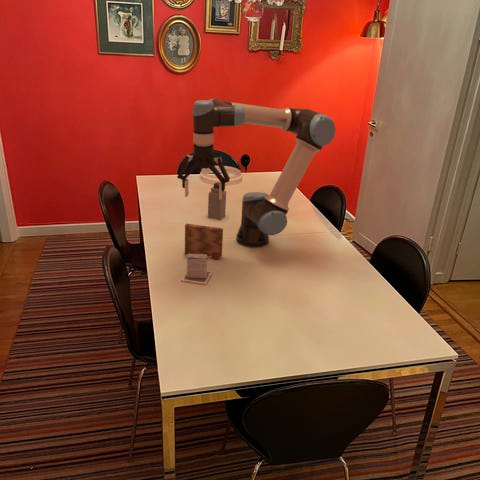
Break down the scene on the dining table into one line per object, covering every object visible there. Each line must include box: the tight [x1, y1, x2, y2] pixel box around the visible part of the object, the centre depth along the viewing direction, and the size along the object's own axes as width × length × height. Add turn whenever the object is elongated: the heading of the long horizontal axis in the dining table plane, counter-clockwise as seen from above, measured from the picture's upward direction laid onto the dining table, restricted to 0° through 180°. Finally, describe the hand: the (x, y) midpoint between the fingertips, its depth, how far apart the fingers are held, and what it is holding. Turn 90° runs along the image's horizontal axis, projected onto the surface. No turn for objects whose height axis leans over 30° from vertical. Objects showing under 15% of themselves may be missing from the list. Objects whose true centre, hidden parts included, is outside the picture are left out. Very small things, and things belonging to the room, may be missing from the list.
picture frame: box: [180, 270, 213, 286], centre depth 184 cm, size 10×10×1 cm
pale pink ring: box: [199, 165, 243, 187], centre depth 301 cm, size 27×27×6 cm
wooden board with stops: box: [184, 222, 224, 260], centre depth 200 cm, size 16×5×13 cm, turn 79°
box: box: [186, 254, 208, 278], centre depth 182 cm, size 8×4×9 cm, turn 92°
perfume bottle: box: [207, 182, 227, 221], centre depth 239 cm, size 7×7×18 cm
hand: (203, 197), depth 185 cm, fingers open, 13 cm apart
